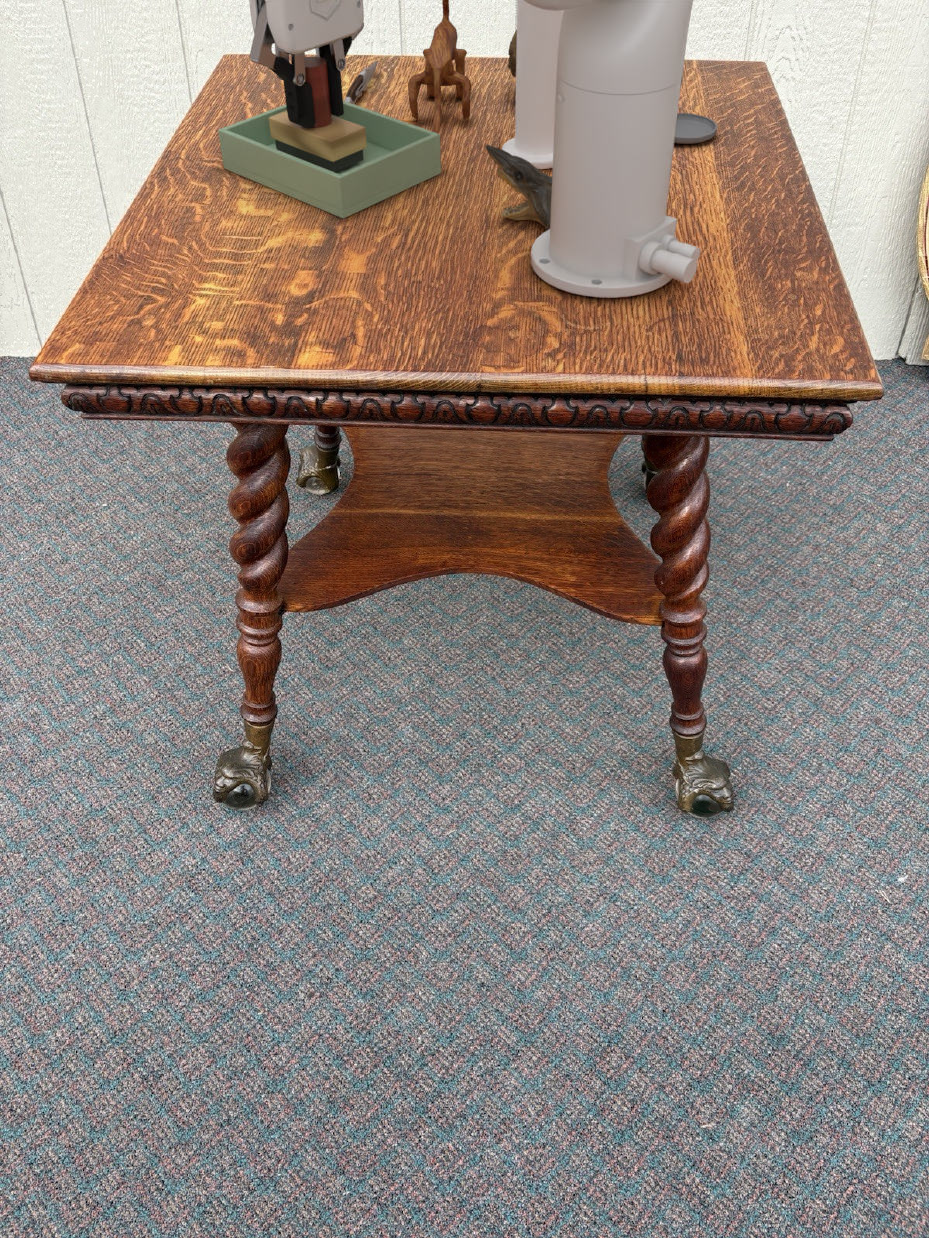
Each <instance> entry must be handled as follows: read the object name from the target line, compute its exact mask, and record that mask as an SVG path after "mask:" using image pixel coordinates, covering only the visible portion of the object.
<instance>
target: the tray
mask: <svg viewBox="0 0 929 1238" xmlns="http://www.w3.org/2000/svg"><path fill="white" fill-rule="evenodd" d="M343 108H344V114H343V115H342V116H339V118H341V119H344V120H347V121H350V122H352V123H355V124H358V125H361V126H364V127H365V130H366V144H367V148H365V149H363V158H364V160H362V161H360V162H358V163H355V164H353V165H351V166H348V167H346V168H344V169H342V170H339V171H337V172H332V171H330V170H327V169H324V168H322V167H319V166H317V165H314V164H312V163H309V162H307V161H304V160H302V159H299V158H297V157H294V156H292V155H289V154H286V153H284V152H281V151H279V150H277V149H276V142H275V139H273V138H271V134H270V126H269V117H271V116H274V115H276V114H279V113H282V112H284V111H287V108H286V103H285V104H283V105H280V106H277V107H274V108H272V109H269V110H266V111H264V112H261V113H258V114H256V115H253V116H251V117H248V118H245V119H243V120H240V121H238V122H235V123H233V124H232V123H231V124H230V125H227V126H225V127H222V128H219V129H217V133H218V139H219V146H220V153H221V158H222V165H223V169H224V170H226V171H229V172H231V173H233V174H236V175H237V176H241V177H243V178H245V179H248V180H251V181H253V182H255V183H257V184H260V185H262V186H265V187H267V188H270V189H271V190H275V191H277V192H278V193H281V194H284V195H286V196H289V197H291V198H293V199H295V200H298V201H300V202H303V203H305V204H308V205H309V206H312V207H315V208H317V209H319V210H321V211H324V212H327V213H329V214H331V215H333V216H336V217H338V218H340V219H346V218H348V217H350V216H352V215H354V214H357V213H358V212H361V211H363V210H365V209H368V208H369V207H372V206H374V205H375V204H378V203H380V202H382V201H385V200H387V199H389V198H391V197H393V196H396V195H397V194H399V193H401V192H404V191H406V190H408V189H411V188H412V187H414V186H417V185H419V184H422V183H424V182H425V181H427V180H429V179H433V178H434V177H436V176H438V175H440V174H442V165H441V164H442V162H441V134H440V133H439V134H438V133H435V132H432V130H429V129H427V128H423V127H420V126H418V125H415V124H412V123H409V122H406V121H404V120H401V119H397V118H394V117H392V116H389V115H386V114H384V113H380V112H377V111H375V110H372V109H369V108H366V107H363V106H360V105H357V104H356V103H355V104H352V103H349V102H346V101H345V100H343ZM331 115H332V114H331ZM333 116H334V115H333ZM336 117H337V116H336Z"/></svg>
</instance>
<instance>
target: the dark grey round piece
mask: <svg viewBox="0 0 929 1238" xmlns="http://www.w3.org/2000/svg"><path fill="white" fill-rule="evenodd" d="M683 78H684V75H683V76H682V78H681V86H680V88H681V87H682V83H683ZM717 131H718V125H717V123H716V122H715V121H714V120H713V119H711V118H710V117H707V116H704V115H700V114H695V113H690V112H689V113H688V112H678V113H677V122H676V130H675V139H674V144H681V145H682V144H683V145H688V144H689V145H690V144H692V145H693V144H698V143H703V142H707V141H709V140H711V139H712V138H714V137H715V135H716V134H717Z"/></svg>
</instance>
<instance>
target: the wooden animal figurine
mask: <svg viewBox="0 0 929 1238" xmlns="http://www.w3.org/2000/svg"><path fill="white" fill-rule="evenodd" d="M441 4H442V18H441V21H440V22H439V23H438V24H437V26H436V27H435V28H434V30H433V35H432V39H431V42H430V46H429V48H424V49H423V51H422V56H423V57H424V58H425V64H424V70H423V71H422V72H420V73H416V74H413V76H411V77H410V78H409V79H408V83H407V92H408V103H409V108H410V112H411V117H413V119H415V120H418V119H419V106H418V105H419V104H418V98H419V95H420V90H421V87H422V85H425V86H426V93H427V96H428V97H429V98H433V102H434V103H433V122H432V130H431V131H432V132H435V133H438V134H440V129H441V121H442V120H441V118H442V87H451V86H455V96H456V98H460V99H461V113H462V117H463V120H464V121H466V120H468V119H469V118H470V116H471V91H472V83H471V79H470V78H469V77H468V76H467V75H466V62H465V61H466V57H467V54H468V52H467V50H466V49H465V48H457V45H458V44H457V43H458V40H459V39H458V38H459V37H458V30H457V28H456V27H455V25H453V23H452V22H451V21H450V0H442V1H441ZM453 61H454V63H455V64H454V63H453ZM454 65H455V66H454ZM454 67H455V68H454Z"/></svg>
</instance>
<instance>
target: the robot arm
mask: <svg viewBox="0 0 929 1238" xmlns="http://www.w3.org/2000/svg"><path fill="white" fill-rule="evenodd" d="M524 1H526V2H527V3H529V4H531V5H533V6H535V7H538V8H541V9H545V10H554V11H560V10H564V13H563V18H562V23H561V29H560V37H559V45H558V62H557V76H556V100H555V124H554V148H553V168H552V172H551V173H552V175H551V177H552V195H551V219H550V229H549V230H547V231H546V230H545V231H544V232H542V233H540V235H539V236H538V237H536V238H535V240H534V242H533V243H532V246H531V249H530V265H531V267H532V270H533V272H534V273H535V274H536V275H537V276H538V277H539V278H540V279H541V280H542V281H544V282H545V283H547V284H548V285H550V286H552V287H554V288H556V289H558V290H561V291H564V292H567V293H570V294H573V295H578V296H582V297H591V298H600V299H602V298H603V299H617V298H628V297H633V296H640V295H644V294H648V293H650V292H653V291H656V290H657V289H660V288H662V287H663V286H665V285H666V284H668V283H669V282H671V281H672V280H675V281H678V282H681V283H683V284H689V283H690V282H692V280H693V279H694V278H695V275H696V273H697V269H698V260H699V258H700V255H701V249H700V247H698V246H695V245H693V244H690V243H687V242H681V241H679V240H678V237H677V236H676V233H677V232H676V231H677V224H678V219H677V217H673V216H670V215H668V214H667V208H668V201H669V200H668V199H669V192H670V191H669V190H670V183H671V176H672V175H671V174H672V165H673V158H674V157H673V155H674V147H675V143H674V139H675V130H676V122H677V113H679V103H680V94H681V87H682V84H681V78H682V76H683V77H684V67H685V66H684V65H685V57H686V49H687V42H688V35H689V27H690V20H691V16H692V15H691V14H692V9H693V4H694V0H524ZM248 2H249V12H250V19H251V25H252V31H253V39H252V43H251V48H250V51H249V60H250V61H251V62H252V63H254V64H258V65H260V66H263V67H266V68H268V69H269V70H271V72H273V73H274V74H275V75H276V77H277V79H279V80H281V81H282V82H283V89H284V99H285V104H286V108H287V113H288V119H289V121H290V122H292V123H295V124H298V125H300V126H303V127H306V128H312V127H314V125H315V116H314V106H313V96H312V87H311V84H309V83H306V82H305V80H306V73H305V57H306V52H309V51H312V50H314V51H315V55H316V56H315V57H321V58H324V59H325V60H326V61H327V72H328V83H329V94H330V105H331V114H332V115H334V116H337V117H339V116H342V115H343V114H344V108H343V101H344V98H343V97H344V96H343V85H342V74H341V72H343V71H344V70H345V68H346V67H347V66H346V65H347V60H346V57H347V55H348V53H349V51H350V48H351V47H352V45H353V41H355V40H356V38H357V37H358V36H359V35H360V34H361V32H362V31H363V29H365V20H364V19H365V10H364V9H365V8H364V0H248ZM273 44H274V52H273V49H272V48H273ZM290 56H291V57H290ZM290 58H291V59H290ZM290 60H291V62H290ZM682 79H683V78H682ZM680 86H681V87H680Z"/></svg>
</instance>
